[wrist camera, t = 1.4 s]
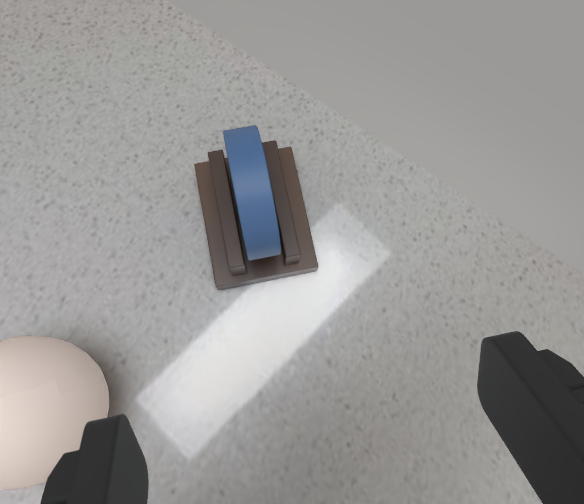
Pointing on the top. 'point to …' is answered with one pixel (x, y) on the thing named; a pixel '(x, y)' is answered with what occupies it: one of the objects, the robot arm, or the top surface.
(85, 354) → the egg
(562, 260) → the top surface
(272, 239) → the disc
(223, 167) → the rack
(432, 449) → the top surface
